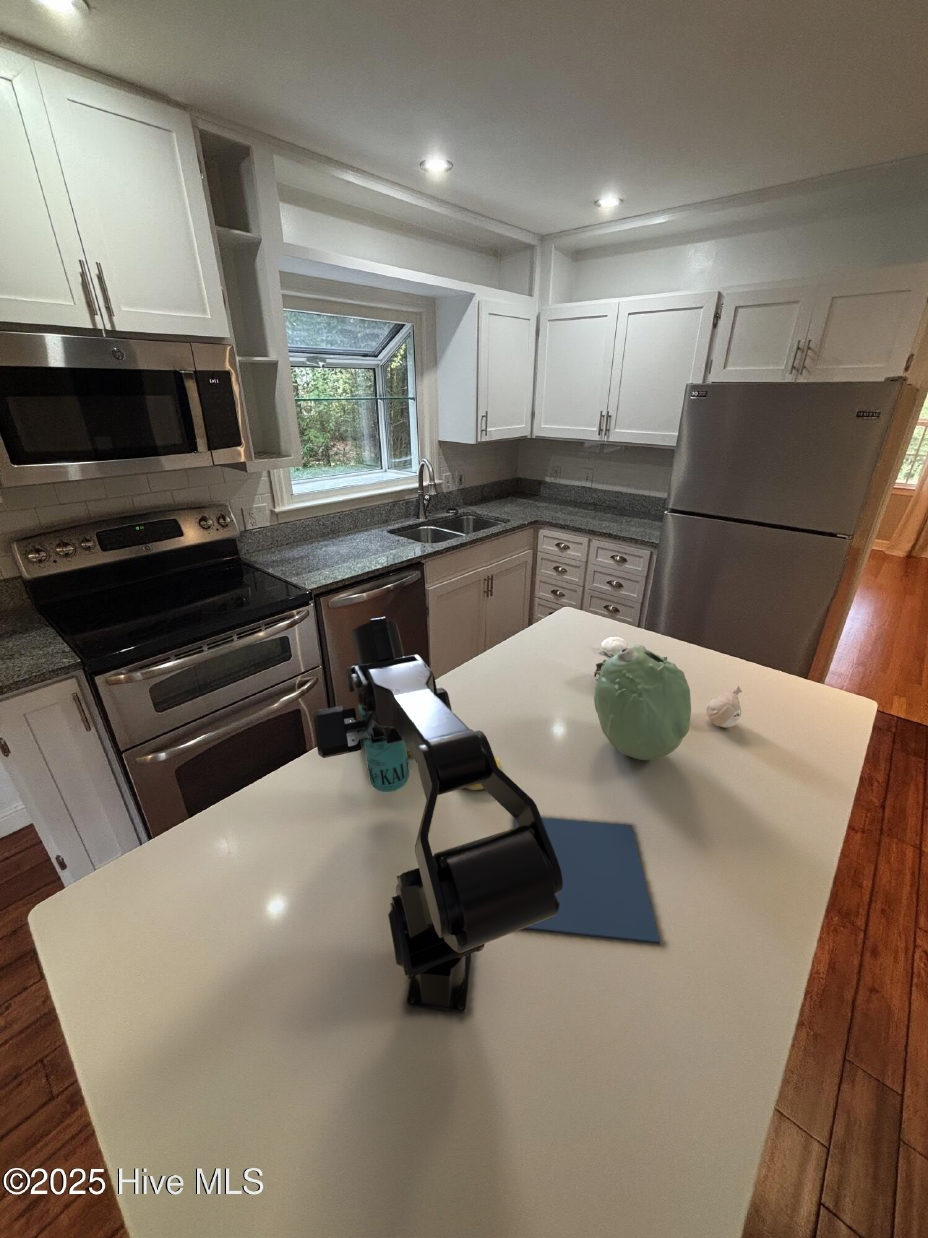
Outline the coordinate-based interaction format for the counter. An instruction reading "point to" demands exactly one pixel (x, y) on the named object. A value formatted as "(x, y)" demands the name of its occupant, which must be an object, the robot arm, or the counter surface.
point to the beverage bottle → (386, 763)
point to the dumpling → (613, 645)
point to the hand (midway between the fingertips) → (381, 732)
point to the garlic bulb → (725, 709)
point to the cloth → (599, 882)
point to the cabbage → (642, 703)
